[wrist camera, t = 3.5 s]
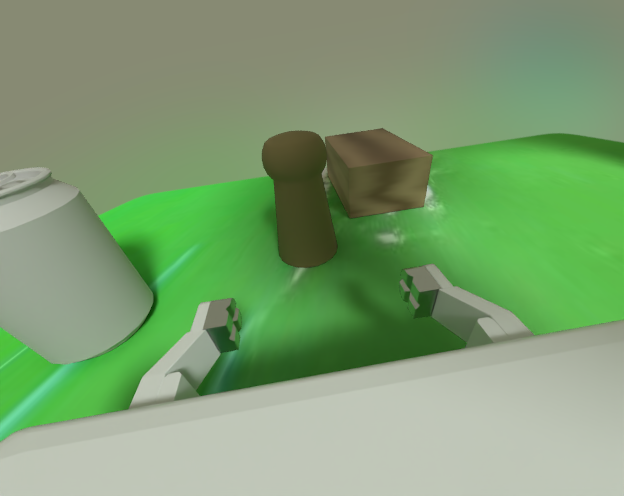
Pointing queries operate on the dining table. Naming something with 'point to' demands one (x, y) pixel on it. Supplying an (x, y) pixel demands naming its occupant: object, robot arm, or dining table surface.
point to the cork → (300, 197)
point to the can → (63, 272)
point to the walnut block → (377, 172)
